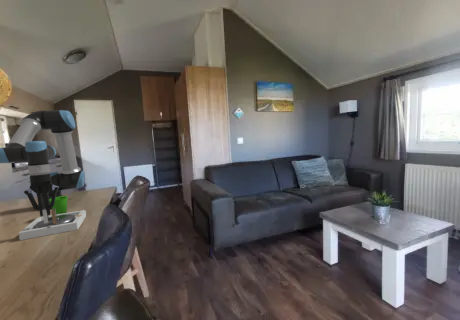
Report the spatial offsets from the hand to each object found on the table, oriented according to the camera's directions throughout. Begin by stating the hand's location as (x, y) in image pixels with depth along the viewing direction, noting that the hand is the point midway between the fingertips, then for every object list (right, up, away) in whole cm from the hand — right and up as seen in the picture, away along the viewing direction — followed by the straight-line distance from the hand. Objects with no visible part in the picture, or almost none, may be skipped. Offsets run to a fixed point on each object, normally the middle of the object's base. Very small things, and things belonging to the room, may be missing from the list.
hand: (46, 222), depth 107 cm
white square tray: (-1, -4, +8) cm, 9 cm away
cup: (-11, -3, +24) cm, 26 cm away
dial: (-1, -3, +7) cm, 8 cm away
